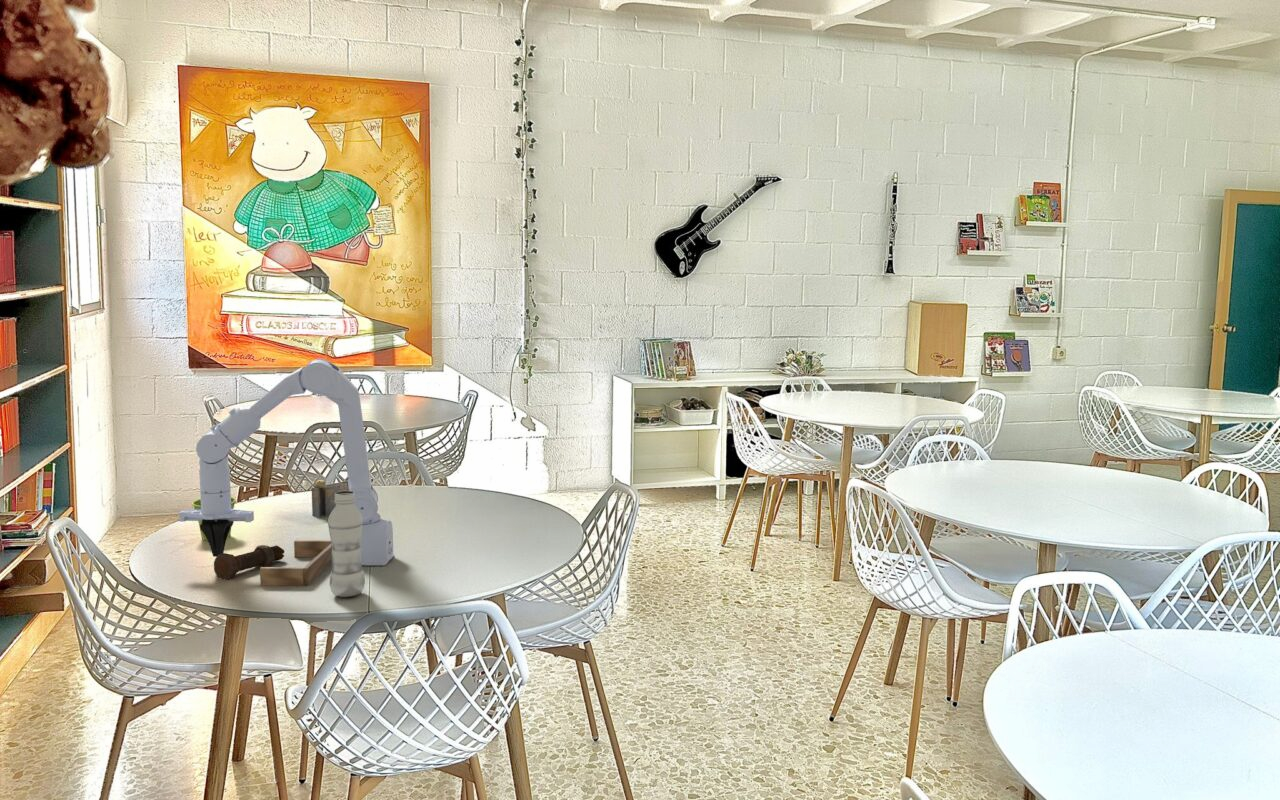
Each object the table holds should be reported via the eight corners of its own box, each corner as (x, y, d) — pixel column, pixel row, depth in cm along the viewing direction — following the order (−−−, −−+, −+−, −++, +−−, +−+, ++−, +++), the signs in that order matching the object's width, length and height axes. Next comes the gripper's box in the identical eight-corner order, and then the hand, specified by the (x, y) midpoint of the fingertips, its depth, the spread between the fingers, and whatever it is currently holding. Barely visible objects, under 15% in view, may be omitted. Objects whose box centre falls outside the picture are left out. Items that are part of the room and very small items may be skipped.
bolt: (283, 569, 214) (225, 586, 200) (268, 555, 215) (209, 571, 202) (292, 548, 212) (235, 564, 199) (277, 534, 214) (219, 548, 200)
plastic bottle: (369, 590, 194) (367, 489, 192) (358, 601, 188) (355, 496, 185) (337, 589, 195) (333, 488, 192) (324, 600, 188) (321, 496, 185)
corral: (338, 556, 217) (337, 540, 217) (307, 585, 197) (306, 568, 196) (295, 556, 217) (295, 540, 217) (260, 585, 197) (259, 568, 196)
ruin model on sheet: (319, 519, 251) (318, 481, 250) (312, 517, 253) (311, 479, 252) (357, 510, 260) (356, 474, 259) (349, 509, 262) (348, 472, 260)
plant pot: (228, 543, 227) (226, 505, 226) (186, 543, 227) (184, 505, 226) (244, 532, 236) (242, 496, 235) (204, 532, 236) (202, 496, 235)
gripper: (170, 494, 201) (174, 560, 202) (243, 495, 201) (246, 561, 202) (186, 487, 208) (189, 550, 209) (256, 487, 208) (259, 551, 209)
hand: (218, 555), depth 206 cm, fingers closed
